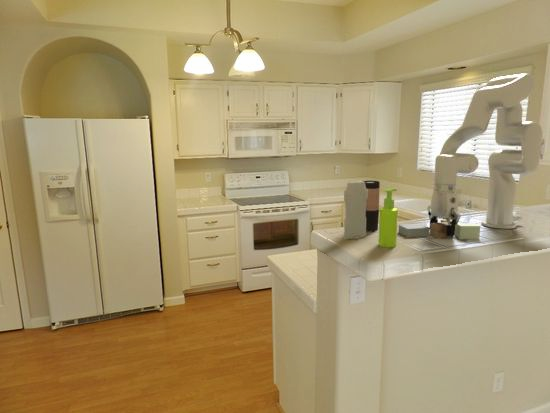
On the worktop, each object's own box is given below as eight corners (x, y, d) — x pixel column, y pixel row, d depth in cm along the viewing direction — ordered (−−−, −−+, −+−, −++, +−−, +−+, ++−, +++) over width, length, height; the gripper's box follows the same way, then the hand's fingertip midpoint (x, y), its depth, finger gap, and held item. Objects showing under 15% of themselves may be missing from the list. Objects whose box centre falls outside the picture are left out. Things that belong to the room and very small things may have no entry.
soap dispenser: (399, 243, 131) (402, 188, 127) (391, 248, 126) (394, 191, 122) (384, 241, 135) (386, 187, 131) (375, 245, 130) (377, 189, 126)
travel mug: (355, 228, 154) (356, 181, 151) (371, 226, 157) (372, 180, 153) (366, 232, 147) (367, 183, 144) (382, 230, 150) (383, 182, 146)
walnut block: (445, 234, 143) (446, 221, 142) (453, 237, 138) (454, 224, 137) (429, 235, 141) (430, 223, 140) (437, 238, 137) (438, 225, 136)
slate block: (419, 231, 148) (420, 223, 147) (429, 236, 141) (429, 227, 140) (398, 233, 146) (398, 224, 146) (407, 237, 140) (407, 229, 139)
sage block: (474, 236, 139) (475, 223, 138) (479, 239, 135) (480, 226, 134) (454, 235, 140) (455, 223, 139) (459, 239, 136) (460, 226, 135)
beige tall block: (346, 240, 136) (347, 182, 132) (340, 238, 140) (341, 181, 136) (369, 237, 140) (371, 180, 136) (363, 234, 144) (364, 179, 140)
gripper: (470, 190, 129) (466, 237, 132) (438, 184, 145) (435, 226, 148) (452, 191, 127) (448, 239, 130) (421, 185, 144) (419, 227, 147)
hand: (441, 232), depth 139 cm, fingers open, 9 cm apart
